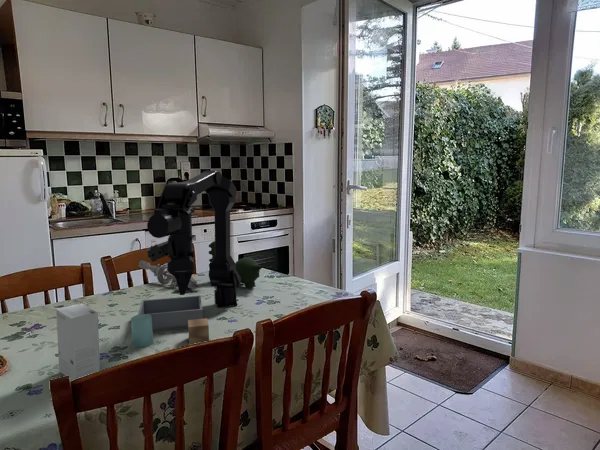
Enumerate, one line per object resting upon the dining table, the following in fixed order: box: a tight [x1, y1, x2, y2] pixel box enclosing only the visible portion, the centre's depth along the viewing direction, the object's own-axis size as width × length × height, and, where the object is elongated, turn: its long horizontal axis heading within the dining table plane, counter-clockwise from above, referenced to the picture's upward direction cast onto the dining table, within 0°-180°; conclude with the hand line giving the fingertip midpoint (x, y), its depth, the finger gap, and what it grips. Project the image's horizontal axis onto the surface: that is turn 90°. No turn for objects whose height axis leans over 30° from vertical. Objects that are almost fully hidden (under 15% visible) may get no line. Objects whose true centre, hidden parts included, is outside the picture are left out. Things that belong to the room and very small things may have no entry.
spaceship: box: [138, 260, 199, 289], centre depth 164 cm, size 8×35×8 cm
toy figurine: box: [208, 240, 263, 290], centre depth 161 cm, size 10×19×26 cm
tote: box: [137, 295, 204, 332], centre depth 126 cm, size 17×13×5 cm
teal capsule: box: [130, 314, 154, 349], centre depth 111 cm, size 5×5×7 cm
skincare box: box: [55, 302, 101, 381], centre depth 94 cm, size 8×6×15 cm
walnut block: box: [187, 317, 210, 345], centre depth 113 cm, size 5×5×5 cm
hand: (182, 289), depth 114 cm, fingers open, 9 cm apart
